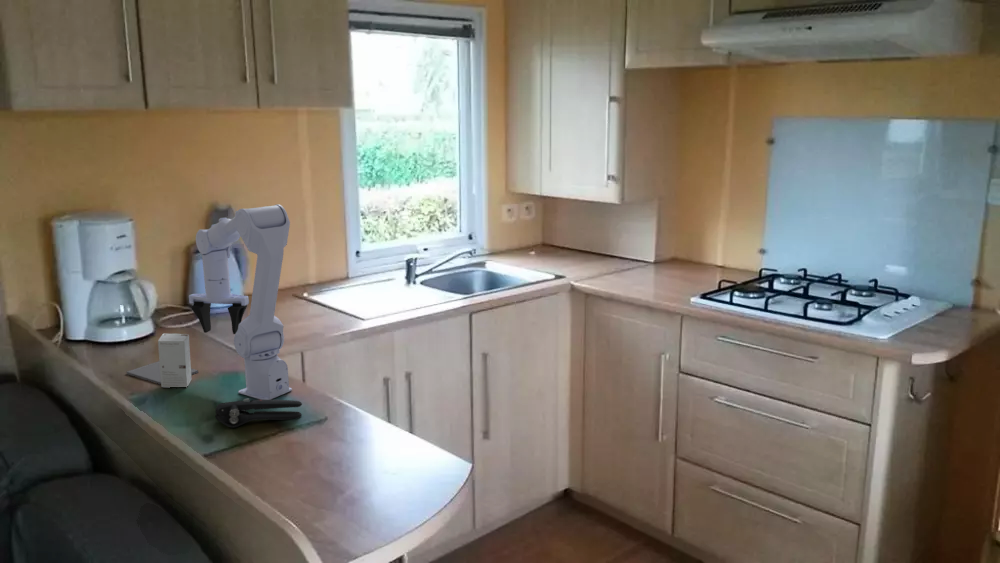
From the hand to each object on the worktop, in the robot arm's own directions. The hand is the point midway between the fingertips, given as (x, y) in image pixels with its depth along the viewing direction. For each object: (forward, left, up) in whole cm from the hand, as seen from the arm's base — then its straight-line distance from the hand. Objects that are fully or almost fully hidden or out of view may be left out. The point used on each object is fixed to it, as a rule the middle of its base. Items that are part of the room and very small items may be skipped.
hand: (221, 332), depth 195 cm
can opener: (-30, +16, -11) cm, 36 cm away
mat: (+12, +9, -10) cm, 18 cm away
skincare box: (+2, +12, -10) cm, 16 cm away
